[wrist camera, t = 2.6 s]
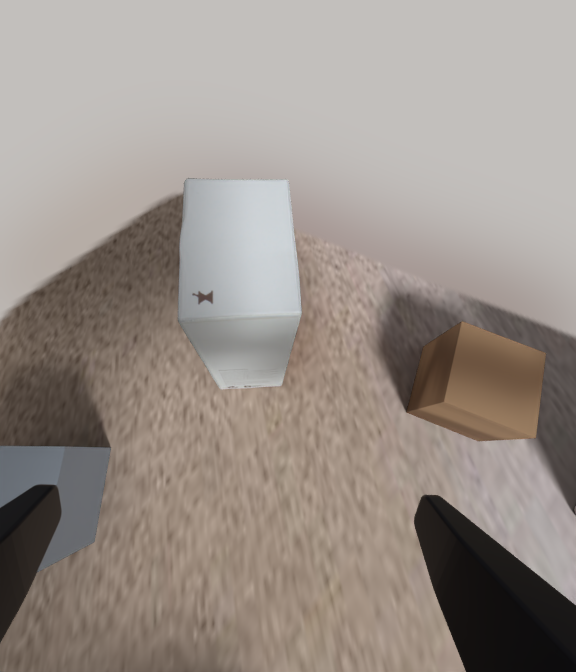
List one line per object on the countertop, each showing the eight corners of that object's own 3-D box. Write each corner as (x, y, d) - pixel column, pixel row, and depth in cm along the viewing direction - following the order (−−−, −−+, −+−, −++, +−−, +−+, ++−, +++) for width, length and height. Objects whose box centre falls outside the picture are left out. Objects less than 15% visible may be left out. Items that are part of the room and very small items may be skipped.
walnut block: (477, 441, 22) (535, 438, 17) (405, 412, 22) (443, 402, 18) (489, 372, 24) (545, 352, 19) (422, 346, 24) (462, 321, 19)
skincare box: (283, 387, 22) (305, 319, 11) (219, 390, 22) (171, 324, 10) (278, 304, 24) (291, 174, 13) (219, 306, 24) (178, 174, 12)
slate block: (95, 541, 19) (37, 571, 14) (1, 542, 18) (-90, 573, 14) (111, 447, 20) (65, 446, 16) (25, 446, 20) (-48, 445, 15)
